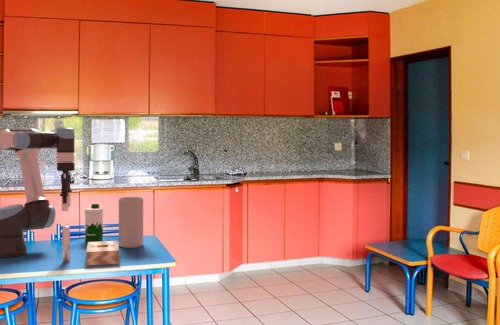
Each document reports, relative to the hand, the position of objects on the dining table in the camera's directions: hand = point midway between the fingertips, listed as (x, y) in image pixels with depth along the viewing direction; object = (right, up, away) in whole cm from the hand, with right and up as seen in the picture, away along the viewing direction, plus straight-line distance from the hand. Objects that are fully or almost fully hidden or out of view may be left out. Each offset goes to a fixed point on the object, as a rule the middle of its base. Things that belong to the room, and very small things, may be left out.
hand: (66, 208), depth 227 cm
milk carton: (-2, -22, +46) cm, 52 cm away
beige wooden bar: (0, -24, +1) cm, 24 cm away
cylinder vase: (+21, -23, +36) cm, 48 cm away
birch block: (+15, -24, +7) cm, 29 cm away
